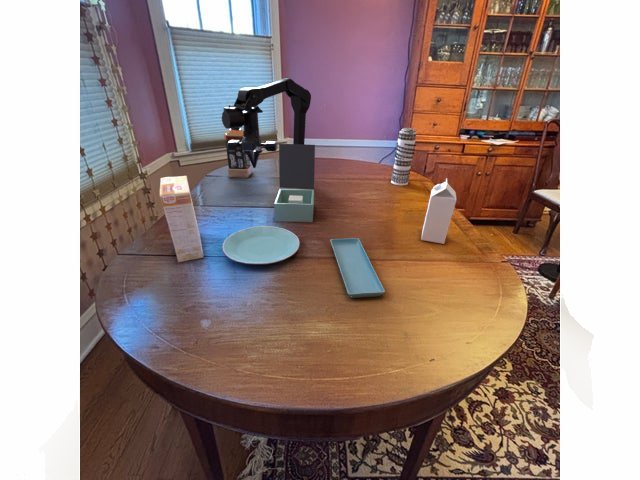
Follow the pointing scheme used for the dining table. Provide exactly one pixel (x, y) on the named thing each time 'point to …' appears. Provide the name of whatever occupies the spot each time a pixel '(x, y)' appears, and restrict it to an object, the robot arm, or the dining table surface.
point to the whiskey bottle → (237, 155)
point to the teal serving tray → (356, 268)
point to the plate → (261, 245)
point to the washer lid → (296, 166)
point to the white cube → (295, 199)
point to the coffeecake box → (181, 217)
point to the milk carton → (439, 213)
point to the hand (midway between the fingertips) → (254, 167)
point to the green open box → (294, 206)
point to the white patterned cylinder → (403, 156)
